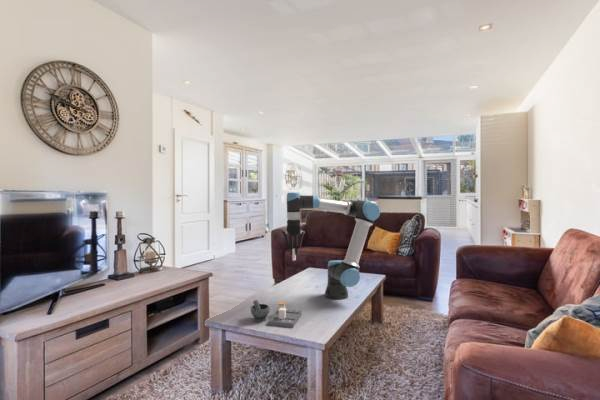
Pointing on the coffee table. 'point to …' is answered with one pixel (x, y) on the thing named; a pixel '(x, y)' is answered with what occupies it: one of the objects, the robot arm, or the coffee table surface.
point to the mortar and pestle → (259, 311)
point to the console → (289, 321)
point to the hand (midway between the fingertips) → (294, 260)
